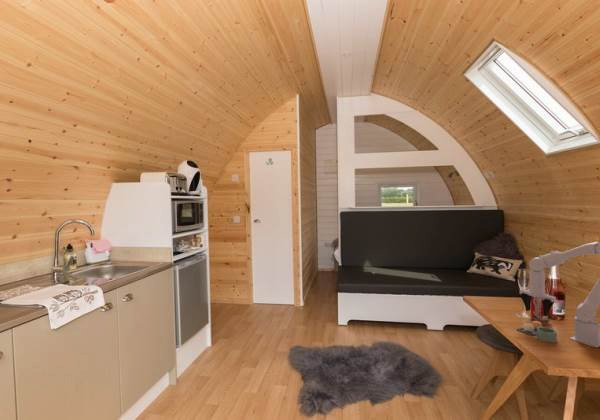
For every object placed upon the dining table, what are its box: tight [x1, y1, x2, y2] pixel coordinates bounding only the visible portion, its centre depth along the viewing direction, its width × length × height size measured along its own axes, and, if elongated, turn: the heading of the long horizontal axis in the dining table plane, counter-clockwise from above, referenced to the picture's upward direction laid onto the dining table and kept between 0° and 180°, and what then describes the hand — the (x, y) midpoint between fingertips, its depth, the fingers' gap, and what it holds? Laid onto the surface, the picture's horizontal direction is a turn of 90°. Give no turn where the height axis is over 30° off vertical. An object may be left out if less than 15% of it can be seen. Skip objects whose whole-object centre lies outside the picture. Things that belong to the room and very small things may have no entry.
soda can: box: [530, 296, 549, 322], centre depth 165 cm, size 7×7×13 cm
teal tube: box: [536, 326, 558, 343], centre depth 141 cm, size 7×7×4 cm
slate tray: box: [516, 326, 537, 337], centre depth 150 cm, size 7×12×1 cm, turn 114°
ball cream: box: [522, 322, 534, 332], centre depth 149 cm, size 4×4×4 cm
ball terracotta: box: [531, 320, 543, 330], centre depth 152 cm, size 4×4×4 cm
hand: (536, 312), depth 151 cm, fingers open, 7 cm apart
